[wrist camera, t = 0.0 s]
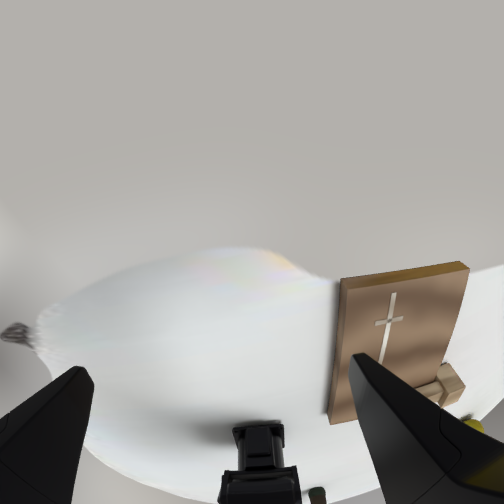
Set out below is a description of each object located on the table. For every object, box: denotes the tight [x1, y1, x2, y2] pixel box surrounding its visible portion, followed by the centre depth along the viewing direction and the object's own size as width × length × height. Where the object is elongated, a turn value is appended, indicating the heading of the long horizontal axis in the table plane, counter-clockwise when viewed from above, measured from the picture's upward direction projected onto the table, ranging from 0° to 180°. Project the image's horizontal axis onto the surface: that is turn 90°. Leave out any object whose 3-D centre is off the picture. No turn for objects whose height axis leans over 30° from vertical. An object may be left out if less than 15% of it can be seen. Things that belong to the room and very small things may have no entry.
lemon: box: [463, 419, 484, 433], centre depth 35 cm, size 11×8×8 cm
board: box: [327, 261, 470, 425], centre depth 27 cm, size 20×14×2 cm
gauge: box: [416, 363, 466, 408], centre depth 26 cm, size 3×13×9 cm, turn 96°
